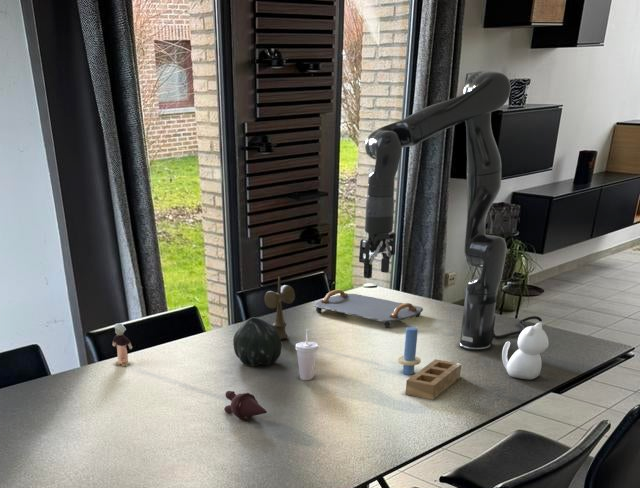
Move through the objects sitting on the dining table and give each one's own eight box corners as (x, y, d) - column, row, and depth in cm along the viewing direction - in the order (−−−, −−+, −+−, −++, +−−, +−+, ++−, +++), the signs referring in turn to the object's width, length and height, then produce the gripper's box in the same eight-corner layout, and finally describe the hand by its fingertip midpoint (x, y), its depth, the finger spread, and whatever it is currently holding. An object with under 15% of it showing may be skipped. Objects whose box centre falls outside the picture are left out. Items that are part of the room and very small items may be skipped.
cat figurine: (534, 385, 200) (544, 331, 193) (491, 375, 208) (499, 323, 200) (547, 376, 206) (557, 323, 198) (505, 367, 213) (513, 315, 206)
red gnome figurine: (278, 397, 180) (237, 387, 190) (256, 398, 175) (216, 388, 185) (275, 425, 182) (235, 414, 192) (254, 426, 177) (213, 415, 187)
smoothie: (318, 374, 212) (318, 326, 205) (317, 381, 207) (318, 333, 200) (295, 373, 213) (296, 326, 206) (294, 381, 207) (294, 333, 200)
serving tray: (306, 311, 270) (306, 294, 267) (345, 299, 284) (346, 283, 281) (392, 331, 246) (393, 313, 243) (430, 316, 260) (432, 299, 257)
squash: (280, 333, 229) (249, 301, 220) (297, 349, 217) (265, 316, 208) (248, 366, 231) (216, 336, 222) (263, 384, 219) (230, 352, 210)
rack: (433, 372, 211) (435, 359, 209) (460, 377, 207) (461, 363, 205) (405, 394, 197) (406, 380, 195) (432, 399, 193) (434, 385, 191)
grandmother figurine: (109, 365, 224) (104, 324, 217) (116, 361, 227) (111, 320, 220) (131, 367, 221) (126, 326, 215) (138, 363, 224) (133, 322, 218)
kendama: (295, 336, 244) (295, 275, 234) (278, 343, 238) (277, 281, 228) (281, 333, 248) (280, 272, 237) (263, 340, 241) (262, 278, 231)
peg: (407, 367, 215) (411, 323, 209) (424, 373, 211) (428, 328, 204) (392, 372, 212) (395, 328, 205) (409, 378, 207) (412, 333, 201)
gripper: (376, 218, 191) (373, 281, 199) (405, 211, 200) (401, 272, 208) (352, 216, 195) (350, 278, 203) (382, 208, 204) (379, 268, 212)
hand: (376, 275), depth 205 cm, fingers open, 8 cm apart
